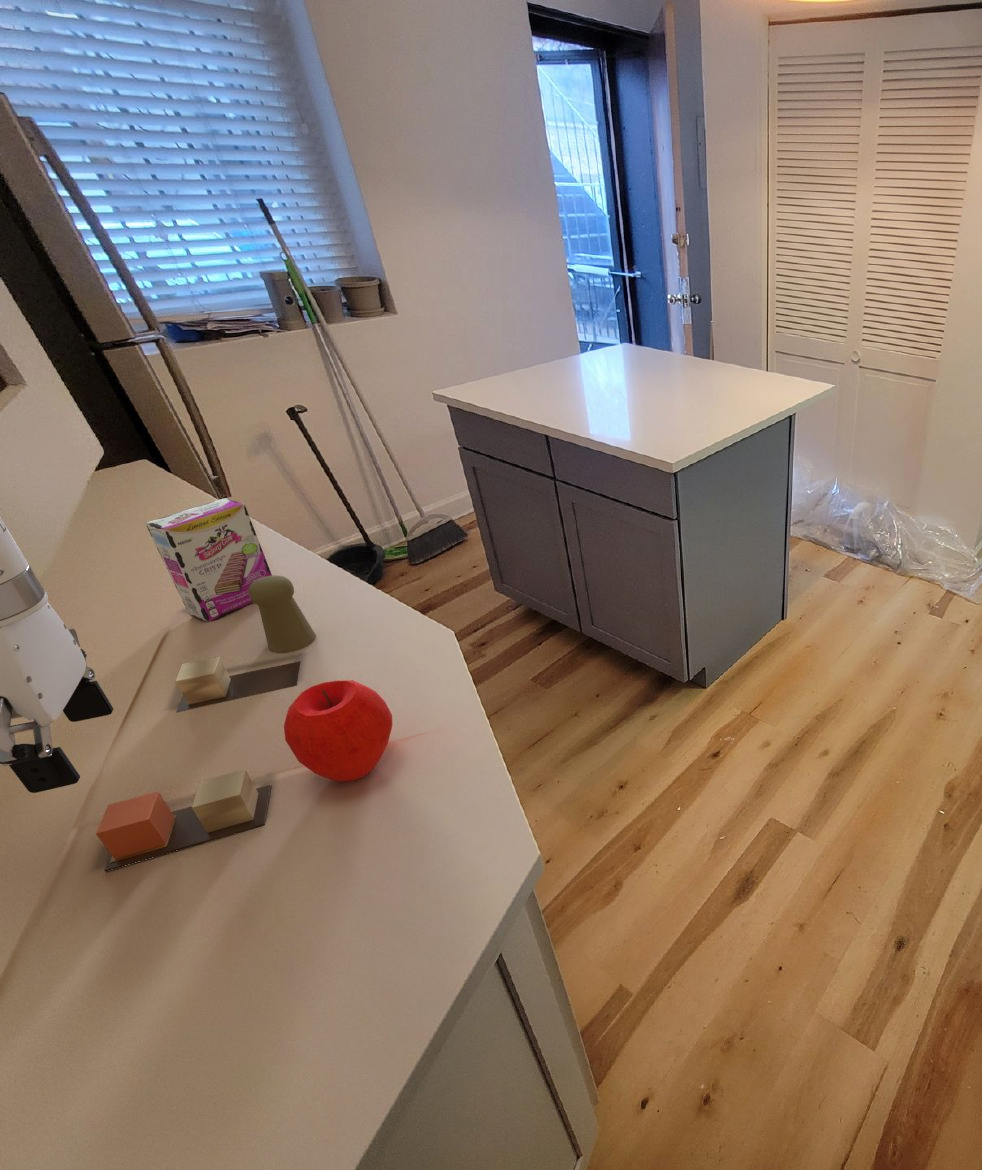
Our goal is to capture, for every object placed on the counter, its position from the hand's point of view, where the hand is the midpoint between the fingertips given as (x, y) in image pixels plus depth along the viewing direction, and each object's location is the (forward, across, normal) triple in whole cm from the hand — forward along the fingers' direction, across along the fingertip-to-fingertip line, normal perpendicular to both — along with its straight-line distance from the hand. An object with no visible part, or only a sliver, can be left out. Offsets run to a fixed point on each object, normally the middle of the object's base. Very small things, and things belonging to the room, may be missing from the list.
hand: (75, 749), depth 61 cm
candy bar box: (+14, -49, +2) cm, 51 cm away
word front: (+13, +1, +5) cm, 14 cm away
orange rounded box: (+12, +1, +1) cm, 12 cm away
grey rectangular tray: (+13, -24, +6) cm, 28 cm away
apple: (+12, -1, +20) cm, 24 cm away
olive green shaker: (+13, -33, +11) cm, 37 cm away
